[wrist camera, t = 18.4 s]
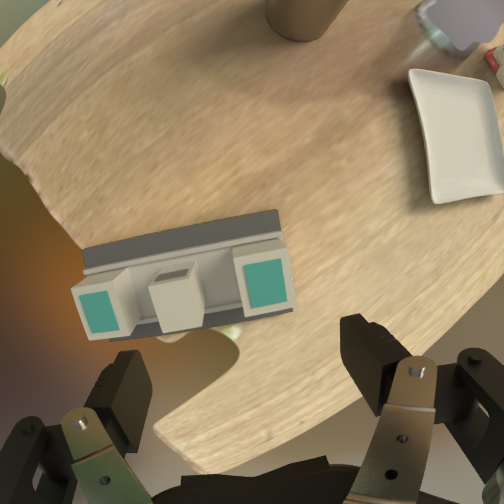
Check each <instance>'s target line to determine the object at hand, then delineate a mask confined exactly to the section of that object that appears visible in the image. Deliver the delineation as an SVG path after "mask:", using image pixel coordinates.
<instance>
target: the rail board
mask: <svg viewBox="0 0 504 504" xmlns="http://www.w3.org/2000/svg"><path fill="white" fill-rule="evenodd" d="M282 236H283V231H281V228H280V221H279V215H278V210H277V209H273V210H268V211H262V212H256V213H251V214H245V215H240V216H235V217H229V218H224V219H219V220H214V221H209V222H204V223H199V224H194V225H189V226H184V227H179V228H174V229H169V230H164V231H160V232H155V233H150V234H146V235H141V236H136V237H132V238H127V239H123V240H119V241H114V242H110V243H105V244H101V245H97V246H93V247H88V248H85V249H83V250H81V251H82V255H83V258H84V262H85V266H86V269H84V270H83V273H84V275H85V274H86V275H87V277H86V278H85V279H83V280H82V281H80V282H79V283H78V284H76V285H75V286H74V287H72V288H71V291H72V294H73V297H74V300H75V304H76V306H77V309H78V312H79V315H80V318H81V321H82V324H83V326H84V329H85V331H86V334H87V337H88V339H89V340H99V339H107V338H109V340H110V342H112V341H121V340H129V339H137V338H145V337H152V336H159V335H166V334H173V333H180V332H186V331H192V330H198V329H204V328H210V327H216V326H222V325H227V324H233V323H238V322H244V321H249V320H254V319H259V318H264V317H269V316H274V315H279V314H283V313H288V312H293V307H297V305H296V297H295V290H294V283H293V276H292V269H291V262H290V255H289V249H288V247H287V246H286V245H285V244H284V243H283V237H282ZM193 260H196V262H197V266H198V270H199V274H200V278H201V282H202V286H203V290H204V294H205V298H206V303H205V310H204V317H203V324H202V327H196V328H191V329H185V330H179V331H174V332H168V333H163V332H162V329H161V327H160V324H159V320H158V317H157V314H156V311H155V308H154V305H153V302H152V298H151V295H150V292H149V288H148V286H149V285H150V283H151V282H152V281H153V279H154V278H155V276H156V275H157V274H158V272H159V271H160V270H161V268H162V267H165V266H170V265H174V264H179V263H184V262H188V261H193Z"/></svg>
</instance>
